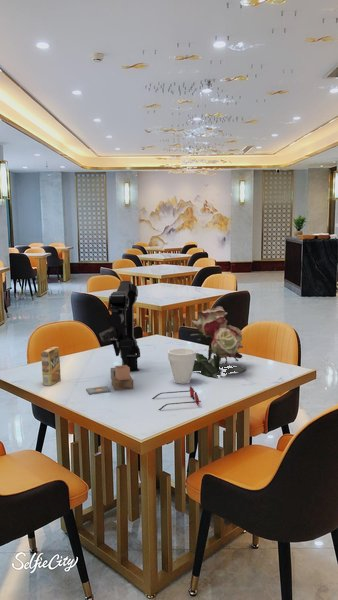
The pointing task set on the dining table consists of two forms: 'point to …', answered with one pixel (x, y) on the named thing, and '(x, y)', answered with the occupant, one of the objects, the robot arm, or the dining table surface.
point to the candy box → (50, 366)
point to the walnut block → (122, 384)
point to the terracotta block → (122, 372)
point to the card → (98, 390)
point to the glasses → (184, 402)
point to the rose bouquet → (217, 342)
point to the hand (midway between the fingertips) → (120, 358)
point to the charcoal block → (112, 372)
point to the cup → (182, 363)
